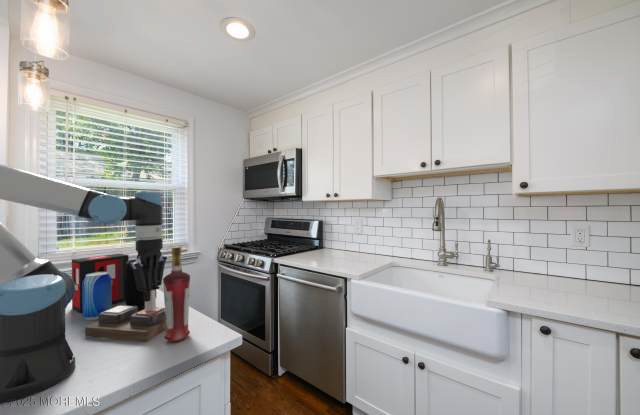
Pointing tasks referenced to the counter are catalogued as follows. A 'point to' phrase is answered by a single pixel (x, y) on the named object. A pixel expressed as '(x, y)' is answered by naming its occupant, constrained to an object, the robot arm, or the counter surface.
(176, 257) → the liquor
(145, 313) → the brick-red key
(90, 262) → the cleaning product box
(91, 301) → the blue striped container
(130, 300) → the black tapered cylinder
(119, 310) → the off-white key
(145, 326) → the key panel
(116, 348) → the counter surface
